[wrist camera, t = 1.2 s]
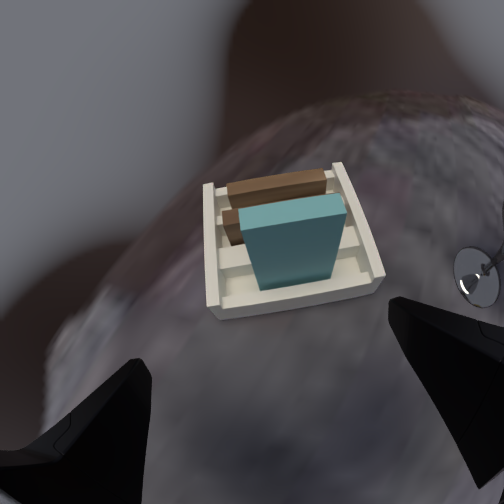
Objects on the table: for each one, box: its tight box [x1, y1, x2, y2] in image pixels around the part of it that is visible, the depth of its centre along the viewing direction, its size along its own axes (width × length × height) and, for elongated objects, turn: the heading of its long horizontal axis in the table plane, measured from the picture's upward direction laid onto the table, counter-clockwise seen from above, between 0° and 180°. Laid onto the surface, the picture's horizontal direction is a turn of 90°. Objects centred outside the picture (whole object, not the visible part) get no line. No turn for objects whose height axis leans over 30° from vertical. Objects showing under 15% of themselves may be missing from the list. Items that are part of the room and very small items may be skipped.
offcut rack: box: [203, 162, 386, 320], centre depth 25 cm, size 12×14×4 cm
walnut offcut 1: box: [227, 168, 327, 209], centre depth 26 cm, size 2×9×4 cm, turn 97°
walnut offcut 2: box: [222, 192, 345, 246], centre depth 25 cm, size 2×10×4 cm, turn 97°
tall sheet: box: [238, 193, 347, 291], centre depth 20 cm, size 2×6×10 cm, turn 96°
